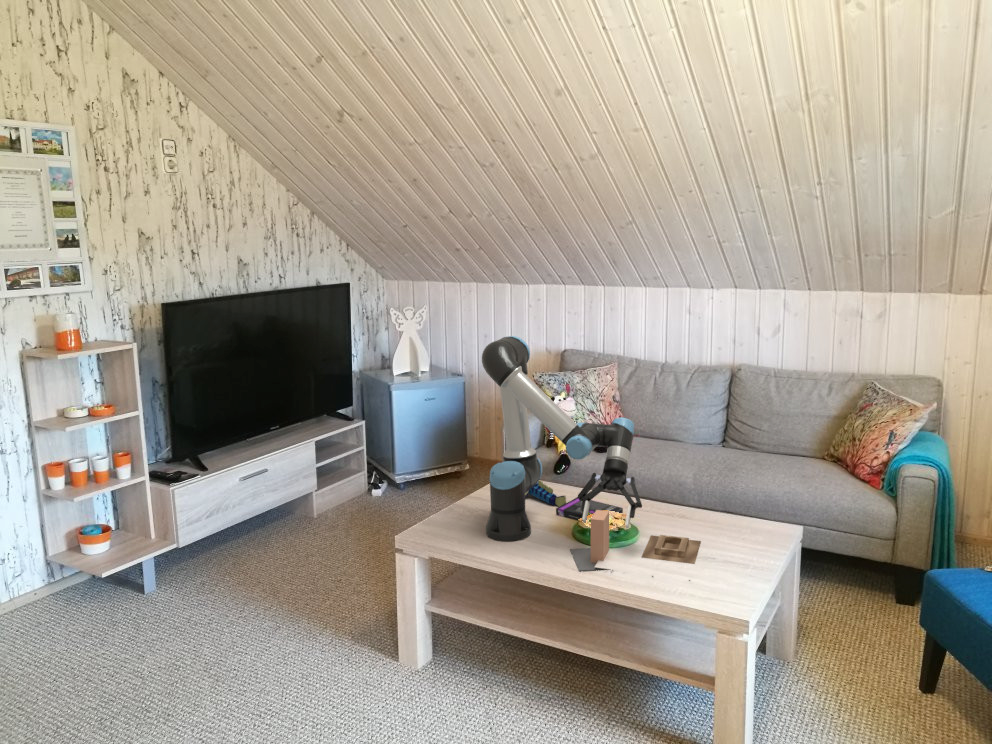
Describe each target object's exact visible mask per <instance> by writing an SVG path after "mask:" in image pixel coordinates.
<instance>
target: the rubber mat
mask: <svg viewBox="0 0 992 744" xmlns="http://www.w3.org/2000/svg"><path fill="white" fill-rule="evenodd" d="M569 551H570V554H571V555H573V556H572V557H573V561H574V562H576V563H575V565H576V567H577V569H579V570H578V571H580V572H581V571H583V572H595V571H596V570H597V571H598V570H599V571H612V570H611V568H603V567H596V565H597V564H598V562H597V563H593V562H591V547H583V548H582V547H581V548H580V547H579V548H569ZM597 571H596V572H597Z"/></svg>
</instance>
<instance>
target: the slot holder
mask: <svg viewBox="0 0 992 744" xmlns="http://www.w3.org/2000/svg"><path fill="white" fill-rule="evenodd" d="M701 543H702V540H697V539H695V540H693V539H689V537H682V536H673V535H666V534H665V535H664V534H660V535H650V536H649V539H648V542H647V543H646V545H645V548H644V550H643V553H642V555H641V558H642V559H651V560H658V561H659V560H660V561H666V562H667V561H668V562H673V563H674V562H675V563H683V564H691V565H696V560H697V557H698V554H699V551H700V550H699V549H700V548H701V547H700V546H701Z"/></svg>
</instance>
